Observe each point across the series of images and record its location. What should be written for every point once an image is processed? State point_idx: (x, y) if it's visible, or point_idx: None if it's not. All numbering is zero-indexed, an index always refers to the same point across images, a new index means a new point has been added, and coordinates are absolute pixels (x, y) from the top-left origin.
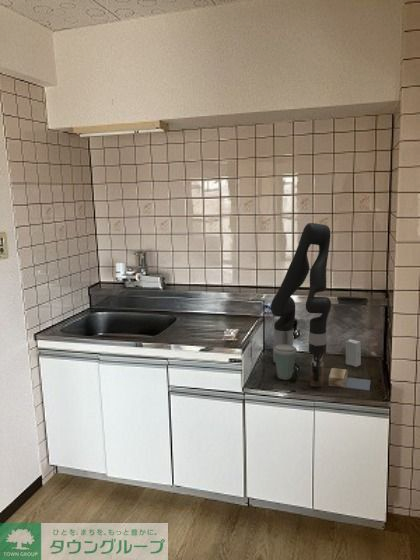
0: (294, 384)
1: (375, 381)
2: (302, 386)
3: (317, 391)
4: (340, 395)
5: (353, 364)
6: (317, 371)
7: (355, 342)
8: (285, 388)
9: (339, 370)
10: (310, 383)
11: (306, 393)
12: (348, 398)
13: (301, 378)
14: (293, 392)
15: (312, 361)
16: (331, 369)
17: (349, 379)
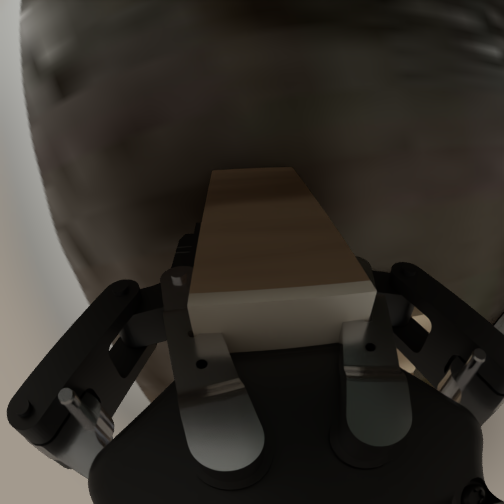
0: (187, 37)
1: None
2: (170, 112)
3: (133, 243)
4: (155, 353)
5: (498, 329)
6: (111, 353)
7: None
8: (84, 12)
9: (402, 354)
10: (211, 176)
11: (67, 183)
12: (145, 377)
13: (345, 70)
14: (43, 95)
15: (355, 300)
16: (421, 316)
17: None
